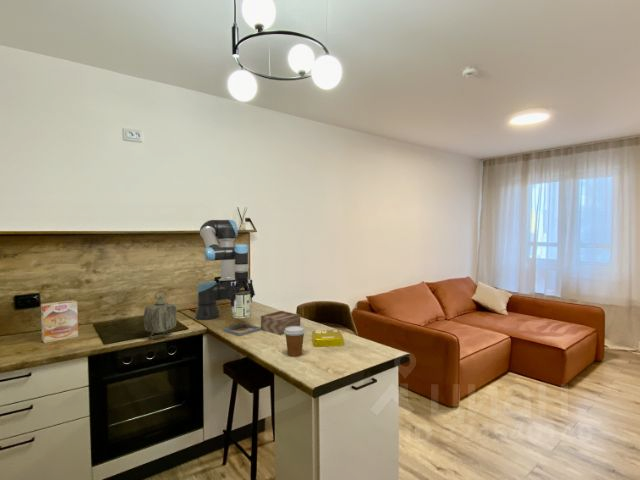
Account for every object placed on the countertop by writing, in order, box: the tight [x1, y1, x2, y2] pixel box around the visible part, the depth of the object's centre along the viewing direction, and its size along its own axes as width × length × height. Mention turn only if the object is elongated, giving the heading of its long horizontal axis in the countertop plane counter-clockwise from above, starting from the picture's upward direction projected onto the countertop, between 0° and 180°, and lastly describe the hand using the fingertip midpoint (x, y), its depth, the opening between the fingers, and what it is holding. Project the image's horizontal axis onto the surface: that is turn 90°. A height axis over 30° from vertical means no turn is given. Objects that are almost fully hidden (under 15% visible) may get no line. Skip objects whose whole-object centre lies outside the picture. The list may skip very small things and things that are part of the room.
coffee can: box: [232, 289, 252, 319], centre depth 201 cm, size 10×10×14 cm
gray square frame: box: [222, 322, 262, 337], centre depth 201 cm, size 15×15×2 cm
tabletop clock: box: [143, 290, 178, 340], centre depth 190 cm, size 14×9×25 cm, turn 152°
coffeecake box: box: [40, 299, 79, 344], centre depth 188 cm, size 15×7×20 cm, turn 137°
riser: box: [260, 310, 301, 336], centre depth 203 cm, size 16×16×8 cm
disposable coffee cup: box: [284, 325, 306, 357], centre depth 162 cm, size 10×10×12 cm
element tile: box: [311, 329, 344, 348], centre depth 180 cm, size 15×15×5 cm
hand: (241, 310), depth 201 cm, fingers closed on coffee can, 10 cm apart
